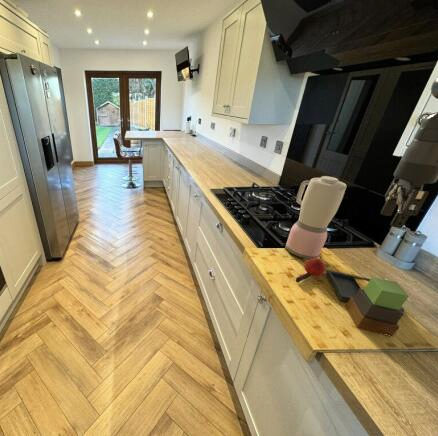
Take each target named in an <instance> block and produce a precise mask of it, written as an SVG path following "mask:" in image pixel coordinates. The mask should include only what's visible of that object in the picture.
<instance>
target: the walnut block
mask: <svg viewBox="0 0 438 436" xmlns="http://www.w3.org/2000/svg"><path fill="white" fill-rule="evenodd" d="M345 309H346V310H347V313H348V315H349V316H350V318H351V320H352V322H353V323H354V325H355V327H356V329H360V330H364V329H365V330H364V331H367V330H369V331H368V332H371V331H374V332H373V333H375V332H377V333H376V334H379V333H382V334H381V335H383V334H387V335H390V336H389V337H391V336H392V337H393V336H394V335H395V334H396V333H397V331H398V330H399V328H400V327H401V326H400V325H399V322H398V323H397V324H393V323H389V322H385V321H381V320H377V319H372V318H368V317H365V316H364V315H363V313H362V312H361V310H360V308H359V307H358V305H357V303H356V302H355V300H354V298H352V297H351V298H350V299H349V301H348V303H346V305H345ZM387 335H386V336H387Z"/></svg>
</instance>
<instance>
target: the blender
mask: <svg viewBox="0 0 438 436" xmlns="http://www.w3.org/2000/svg"><path fill="white" fill-rule="evenodd" d="M306 186H307V188H306ZM347 187H348V186H347V184H346V183H344V182H343V181H340V180H339V179H338V178H337V177H334V176H328V175H322V176H320V177H313V178H311V179H310V180H308V179H307V180H303V181H302V182H301V183H300V186H299V188H298V191H297V194H296V198H295V202H296V203H297V205H300V211H299V216H298V220H297V221H296V222H295V223H294V224H293V225H292V227H291V228H290V229H289V230H288V233H289V234H288V237H287V241H286V243H285V247H284V249H285V250H287V251H288V252H289V253H291V254H293V255H295V256H296V257H299V258H302V261H304V260H308V261H309V260H311V259H316V258H317V257H320V256H321V252H322V250H323V248H324V246H325V243H326V241H327V238H328V229H327V228H328V226H329V224H330V223H331V221H332V220H333V218H334V217H335V215H336V214H337V212H338V210H339V207H340V205H341V203H342V200H343V198H344V196H345V193H346V192H345V191H346V190H347ZM305 188H306V190H305ZM303 194H304V195H303ZM302 197H303V199H302Z"/></svg>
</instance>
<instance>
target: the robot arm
mask: <svg viewBox="0 0 438 436" xmlns="http://www.w3.org/2000/svg"><path fill="white" fill-rule="evenodd" d="M430 93H431V96H433V97H434V98H435V99H437V100H438V76H437V77H436V78H435V79H434V81H433V82H432V84H431V87H430ZM392 175H393V177H394V178H393V179H392V182H391V183H390V185H389V186H388V189H387V190H386V193H385V194H384V198H385V203H384V205H383V207H382V209H381V210H380V215H382V216H386V217H391V216H392V215H393V213H394V211H395V210H396V208H397V210H396V211H397V212H395V214H394V216H393V219H392V220H391V222H390V224H389V225H390V226H391V227H392V228H396V229H402V228H403V227H404V226H405V224H406V222H407V221H408V219H409V217H410V216H417V215H418V214H419V212H420V210H421V208H422V207H423V206H424V203H425V201H426V200H427V198H428V196H429V194H430V191H427V190H423V187H424V185H426V184H430V185H432V184H436V183H437V180H438V111H436V112H433V113H430V114H428V115H426V116H425V117H424V118H423V120H422V121H421V122H420V124H419V127H418V129H417V131H416V132H415V134H414V136H413V139H412V140H411V141H410V143H409V144H408V146H407V147H406V148H405V151H404V153H403V155H402V156H401V159H400V161H399V162H398V164H397V166H396V168H395V170H394V172H393V174H392ZM397 206H398V207H397Z"/></svg>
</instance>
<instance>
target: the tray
mask: <svg viewBox="0 0 438 436" xmlns="http://www.w3.org/2000/svg"><path fill="white" fill-rule="evenodd" d="M326 276H327V277H326ZM325 277H326V278H327V280H328V282H329V284H330V286H331V288H332V290H333V292H334V294H335V295H336V297H337V299H338V301H339V302H343V303H346V304H347V303H348V301H349V299H350V298H351V297H352V298H354V297H355V295H356V294H357V292H358V290H359V289H362V288H361V286H360V285H359V283H358V282H357V280H356V279H360V280H364V281H368V282H369V281H370V279H371V278H369V277H364V276H359V275H354V274H348V273H343V272H339V271H335V270H334V271H333V270H329V269H328V270H326V272H325ZM400 309H401V310H402V311H403V312H404V311H405V309H404V307H403V306H402V307H401V308H400Z"/></svg>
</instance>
